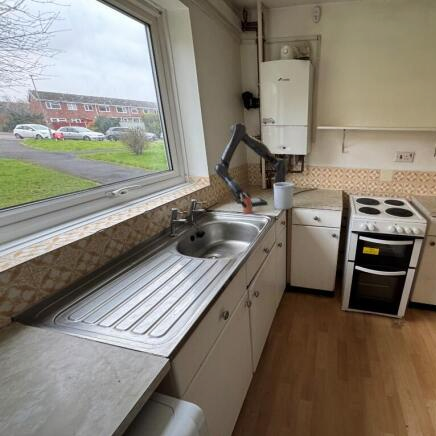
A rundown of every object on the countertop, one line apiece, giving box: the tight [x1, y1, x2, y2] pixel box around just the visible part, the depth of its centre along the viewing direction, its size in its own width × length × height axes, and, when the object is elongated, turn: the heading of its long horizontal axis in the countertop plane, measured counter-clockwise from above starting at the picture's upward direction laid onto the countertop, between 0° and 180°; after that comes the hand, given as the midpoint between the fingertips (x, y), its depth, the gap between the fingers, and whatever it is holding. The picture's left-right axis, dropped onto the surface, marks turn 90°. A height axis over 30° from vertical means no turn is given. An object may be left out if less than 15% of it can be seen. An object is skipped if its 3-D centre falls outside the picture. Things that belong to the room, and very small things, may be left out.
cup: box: [242, 197, 253, 214], centre depth 162 cm, size 6×6×10 cm
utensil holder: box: [272, 181, 294, 211], centre depth 172 cm, size 15×15×18 cm
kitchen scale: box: [251, 197, 268, 208], centre depth 184 cm, size 16×14×3 cm
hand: (249, 205), depth 161 cm, fingers closed on cup, 6 cm apart
